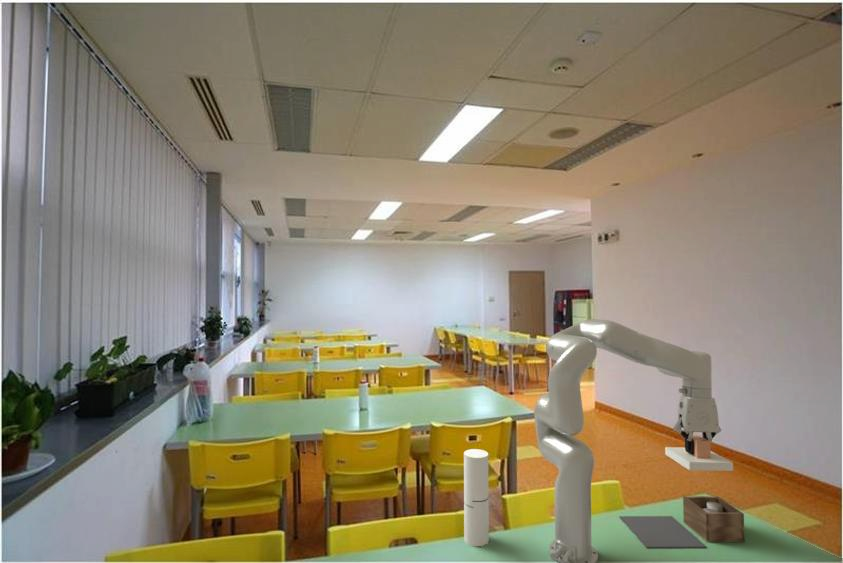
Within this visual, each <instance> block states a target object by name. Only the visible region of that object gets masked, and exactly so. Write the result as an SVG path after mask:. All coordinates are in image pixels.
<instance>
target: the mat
mask: <svg viewBox="0 0 843 563" xmlns="http://www.w3.org/2000/svg"><path fill="white" fill-rule="evenodd" d="M619 517H620V518H619ZM618 518H619V519H620V521H621V522H623V524H624V523H625V524H626V525H627V526H628V527H629V528H628V527H627V526H626V525H625V524H624V525H625V526H626V527H627V528H628V529H629V530H630V531H631V533H632V534H633V533H634V534H635V535H636V536H637V537H636V536H635V535H634V534H633V535H634V536H635V537H636V538H637V539H638V541H639V542H640V543H641V544H642V543H643V544H642V545H643V546H644V548H646V549H707V545H706V544H704V543H703V542H702V541H701V540H700V539H699V538H697V536H695V534H693V533H692V532H691V531H690V530H688V529H687V528H686V527H685V526H684V525H683V524H682V523H680V522H679V521H678V520H677V519H676V518H675V517H674V516H673V515H651V516H650V515H638V516H637V515H634V516H632V515H631V516H630V515H628V516H627V515H624V516H623V515H621V516H620V515H619V516H618Z"/></svg>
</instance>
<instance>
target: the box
mask: <svg viewBox="0 0 843 563" xmlns="http://www.w3.org/2000/svg"><path fill="white" fill-rule="evenodd" d="M682 501H683V504H682V506H683V507H682V508H683V512H682V513H683V524H685V525H686V526H688V528H690V529H691V530H692V531H693V532H695V534H697V535H698V536H699V537H700V538H701V539H703V541H705V542H706V543H726V542H727V543H733V542H734V543H742V542H743V543H744V542H745V515H744V513H743V512H742V511H740V510H739V509H737V508H736V507H735V506H733V505H731V503H728V502H727V501H725V500H724V499H723V498H721V497H720V496H716V495H714V496H713V495H712V496H711V495H710V496H707V495H706V496H705V495H704V496H701V495H700V496H699V495H698V496H695V495H694V496H684V495H683V497H682Z"/></svg>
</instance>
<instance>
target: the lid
mask: <svg viewBox="0 0 843 563" xmlns="http://www.w3.org/2000/svg"><path fill="white" fill-rule="evenodd" d="M692 441H693V442H694V455H691V454H689V453H688V452H686V450H685V446H683V447H682V446H681V447H680V446H679V447H678V446H677V447H676V446H675V447H674V446H665V448H664V450H665V451H664V454H665V456H667V457H668V458H670V459H672V460H674V462H675V463H676V462H677V463H678V465H681V466H682V467H684V468H685V469H687V470H688V471H707V472H709V471H718V472H721V471H722V472H723V471H725V472H733V471H734V462H733V461H731V460H729V459H727V458H726V457H723V456H721V455H719V454H717V453H715V452H714V451H712V450H711V447H712V446H711V443H712V441H709V440H707V439H705V438H703V437H702V435H699V434H693V437H692Z"/></svg>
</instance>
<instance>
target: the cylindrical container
mask: <svg viewBox="0 0 843 563" xmlns="http://www.w3.org/2000/svg"><path fill="white" fill-rule="evenodd" d="M489 492H490V491H489V453H488V452H487V451H486V450H484V449H479V448H478V449H477V448H470V449H467V450H465V451H464V452H463V503H464V504H463V515H464V516H463V520H464V521H463V527H464V528H463V534H464V535H463V538H464V543H465V544H467V543H468V544H467V545H469V546H471V545H472V546H471V547H475V546H481V547H484V546H483V545H485V544H487V543H488V544H489V542H490V532H489V531H490V529H489V528H490V527H489V526H490V524H489V522H490V517H489V515H490V514H489V509H490V508H489V506H490V505H489V495H490V494H489ZM488 541H489V542H488ZM488 544H487V545H488ZM485 546H486V545H485Z"/></svg>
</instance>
